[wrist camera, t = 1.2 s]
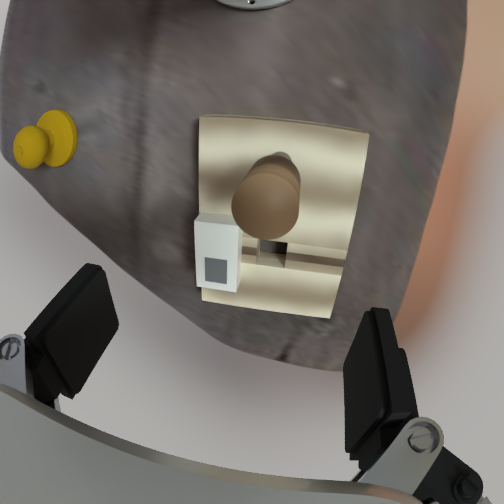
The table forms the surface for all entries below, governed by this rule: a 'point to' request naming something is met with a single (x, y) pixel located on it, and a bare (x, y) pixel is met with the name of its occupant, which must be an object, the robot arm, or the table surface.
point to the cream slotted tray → (310, 207)
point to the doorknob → (46, 141)
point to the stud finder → (217, 251)
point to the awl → (268, 198)
